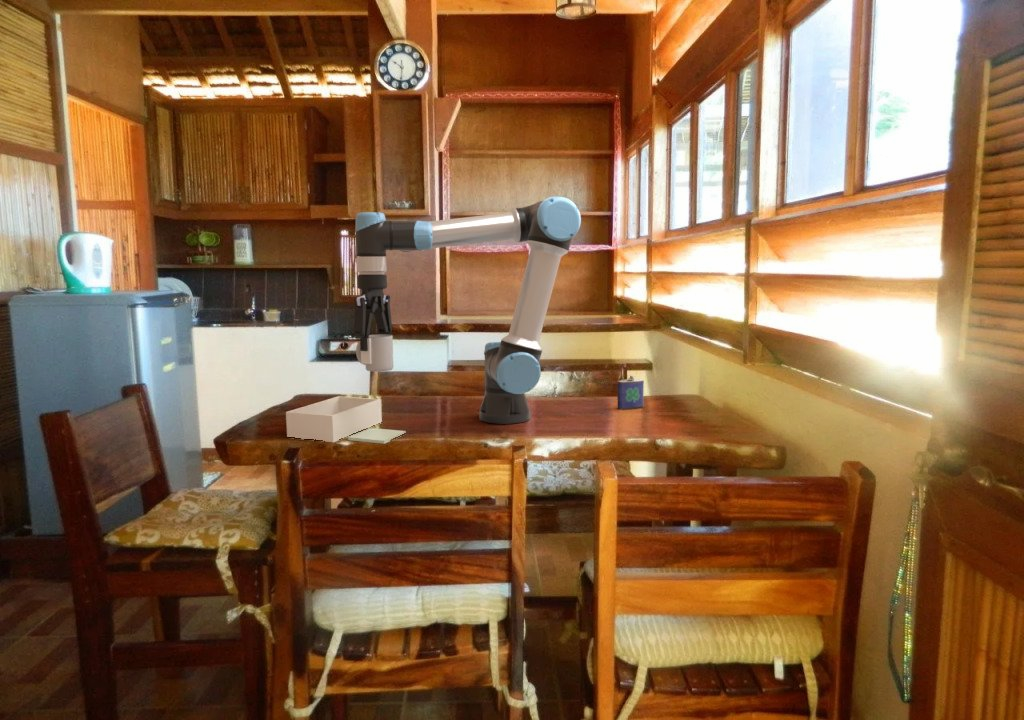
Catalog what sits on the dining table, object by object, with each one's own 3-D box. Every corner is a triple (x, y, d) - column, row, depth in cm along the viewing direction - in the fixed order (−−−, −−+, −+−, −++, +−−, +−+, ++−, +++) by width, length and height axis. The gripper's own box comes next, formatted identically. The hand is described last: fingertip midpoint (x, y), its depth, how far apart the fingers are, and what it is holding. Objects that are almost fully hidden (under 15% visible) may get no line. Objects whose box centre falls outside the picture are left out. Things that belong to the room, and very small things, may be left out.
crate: (381, 422, 199) (381, 399, 198) (333, 442, 177) (332, 415, 176) (339, 419, 204) (338, 396, 203) (287, 437, 182) (285, 412, 181)
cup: (387, 372, 175) (386, 337, 174) (351, 371, 177) (349, 336, 176) (397, 367, 182) (396, 334, 181) (362, 367, 184) (361, 334, 183)
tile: (405, 433, 185) (405, 431, 185) (384, 443, 175) (384, 440, 175) (370, 430, 189) (370, 427, 189) (348, 440, 179) (347, 437, 179)
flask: (640, 406, 220) (641, 373, 219) (645, 408, 218) (646, 374, 216) (615, 408, 217) (616, 375, 215) (620, 410, 214) (620, 376, 213)
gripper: (380, 273, 187) (382, 356, 190) (336, 274, 168) (340, 366, 171) (404, 273, 184) (406, 357, 187) (362, 274, 166) (365, 367, 169)
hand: (374, 361), depth 179 cm, fingers closed on cup, 7 cm apart
